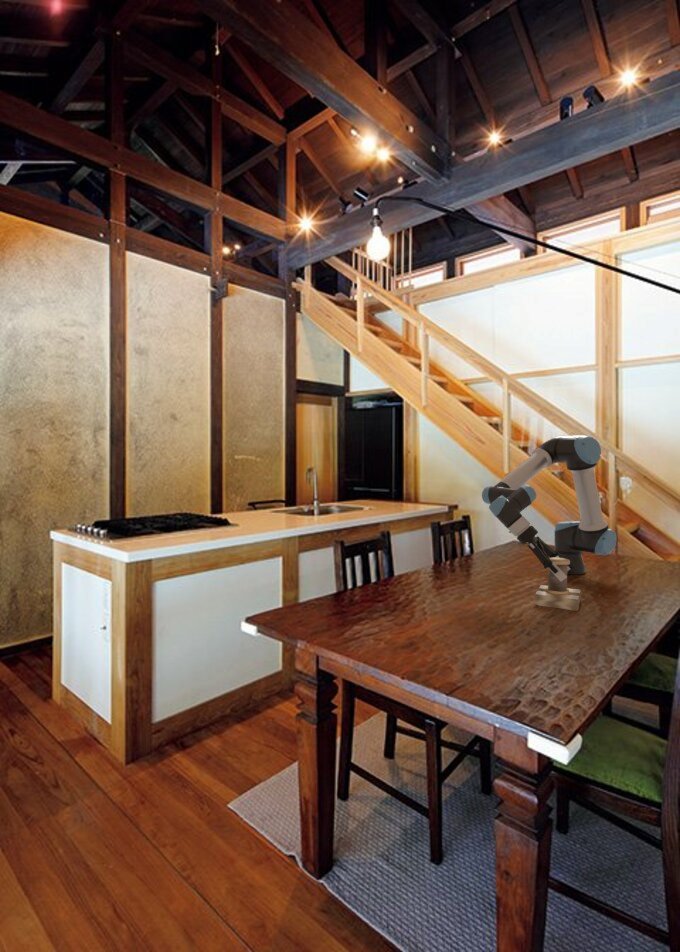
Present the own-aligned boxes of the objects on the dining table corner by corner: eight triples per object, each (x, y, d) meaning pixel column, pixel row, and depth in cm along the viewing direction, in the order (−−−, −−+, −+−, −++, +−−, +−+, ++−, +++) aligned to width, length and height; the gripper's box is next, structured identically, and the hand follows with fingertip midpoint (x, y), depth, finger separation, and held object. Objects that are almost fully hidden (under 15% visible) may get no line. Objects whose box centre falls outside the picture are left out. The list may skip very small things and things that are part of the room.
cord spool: (540, 590, 186) (541, 558, 186) (555, 587, 190) (556, 556, 189) (558, 596, 179) (559, 563, 178) (574, 593, 183) (574, 560, 182)
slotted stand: (535, 604, 182) (535, 594, 182) (540, 595, 194) (540, 584, 194) (577, 610, 175) (577, 599, 175) (580, 600, 187) (580, 589, 187)
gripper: (521, 532, 202) (561, 573, 195) (509, 542, 180) (554, 589, 174) (535, 520, 199) (576, 562, 192) (525, 529, 177) (571, 576, 171)
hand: (565, 575), depth 183 cm, fingers open, 13 cm apart
